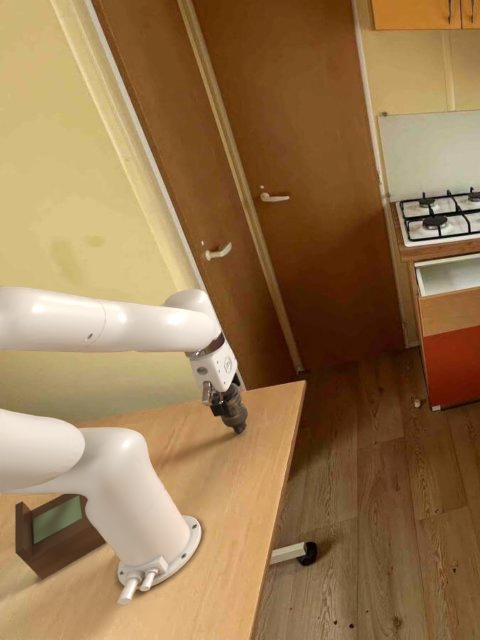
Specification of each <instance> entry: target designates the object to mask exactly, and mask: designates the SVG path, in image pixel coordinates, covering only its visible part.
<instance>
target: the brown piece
mask: <svg viewBox="0 0 480 640" xmlns="http://www.w3.org/2000/svg"><path fill="white" fill-rule="evenodd" d="M87 501H88V499H87V498H86V497H85V496H83V495H80V494H60V495H59V496H57V497H55V498H53V499H51V500H49V501H47V502H45V503H43V504H41V505H39V506H37V507H35V508H33V509H32V510H31V508H29V507H28V505H27V504H26V503H25V502H24V501H23V500H21V501H20V502H18V503H16V504H15V505H14V511H15V512H14V513H15V514H14V524H15V526H14V527H15V531H14V533H15V535H14V536H15V537H14V541H15V543H14V547H15V548H14V549H15V552H14V553H15V554H16V555H17V556H18V557H19V558H20V559H21V560H22V561H23V562H24V563H25V564H26V565H27V566H28V567H29V568H30V569H31V570H32V572H34V574H36V576H37V577H39V578H40V579H41V580H42V581H43V580H45V579H47V578H48V577H50V576H52V575H53V574H55V573H57V572H59V571H60V570H62V569H64V568H65V567H67V566H69V565H70V564H72V563H74V562H75V561H77V560H79V559H80V558H82V557H84V556H86V555H87V554H89V553H91V552H93V551H94V550H96V549H98V548H99V547H101V546H103V545H105V544H107V542H106V541H105V540H104V538H103V537H102V536H101V534H100V533H99V532H98V531H97V529H96V528H95V527H94V526H93V525H92V524H91V522H90V521H89V519H88V518H87V516H86V512H85V507H86V503H87Z"/></svg>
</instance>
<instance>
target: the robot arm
mask: <svg viewBox="0 0 480 640" xmlns="http://www.w3.org/2000/svg"><path fill="white" fill-rule="evenodd" d="M0 351H15V352H16V351H17V352H18V351H21V352H51V353H53V352H54V353H55V352H58V353H80V354H81V353H83V354H85V353H86V354H87V353H88V354H89V353H90V354H94V353H98V354H99V353H101V354H106V353H107V354H108V353H110V354H111V353H125V352H136V353H144V354H145V353H184V356H185V357H186V358H187V359H189V363H190V367H191V368H190V369H191V370H192V373H193V378H194V379H195V382H196V384H197V387H198V389H199V391H200V393H201V394H202V396H201V404H202V405H205V406H206V407H209V409H210V410H211V413H212V415H213V417H221V416H222V415H227V414H230V409H229V407H228V404H227V402H226V400H223V392H225V391H227V389H228V388H229V386H230V384H231V383H234V384H236V385H237V386H238V388H239V387H241V385H242V383H241V380H240V378H239V375H238V373H237V369H238V361H237V358H236V356H235V354H234V352H233V350H232V348H231V346H230V344H229V342H228V341H227V339H226V338H225V336H224V333H223V331H222V328H221V326H220V323H219V321H218V317H217V316H216V313H215V311H214V308H213V305H212V303H211V300H210V298H209V295H208V294H207V293H206V292H205V291H203V290H202V289H197V288H189V289H183V290H180V291H178V292H175V293H173V294H171V295H170V296H169V297H168V298H166V300H165V301H164V302H163V303H162V304H159V305H151V304H144V303H143V304H142V303H136V302H131V301H130V302H129V301H122V300H121V301H120V300H113V299H112V300H110V299H104V298H96V297H91V296H84V295H77V294H71V293H66V292H62V291H61V292H60V291H56V290H55V291H54V290H49V289H44V288H43V289H42V288H35V287H28V286H13V285H11V286H10V285H8V286H7V285H4V286H3V285H2V286H1V285H0ZM212 388H215V389H216V390H213V391H212ZM214 393H218V399H213V398H212V395H213V394H214ZM54 494H55V495H58V494H59V495H63V494H80V495H83V496H85V497H86V498H87V499H88V501H87V503H86V507H85V512H86V516H87V518H88V519H89V521H90V522H91V524H92V525H93V526H94V527H95V528H96V529H97V531H98V532H99V533H100V534H101V536H102V537H103V538H104V540H105V541H106V544H107V545H108V546H109V547H110V549H111V550H112V551H113V552H114V553H115V555H116V556H117V557H118V559H119V562H118V567H117V574H116V575H117V578H118V581H119V582H120V583H121V585H123V586H124V587H123V588H122V590H121V592H120V595H119V596H118V599H117V600H116V603H117V605H119V606H126V605H129V604H131V602H132V601H133V599H134V597H135V595H136V592H137V590H139V591H141V592H149V590H150V589H151V588H152V587H154V586H156V585H158V584H160V583H162V582H164V581H165V580H167V579H169V578H170V577H171V576H173V575H174V574H176V573H177V572H178V571H179V570H180V569H182V567H183V566H185V565H186V564H187V563H188V561H189V560H190V559H191V558H192V556H193V555H194V553H195V552H196V550H197V549H198V546H199V544H200V541H201V539H202V527H201V525H200V522H199V521H198V520H197V519H196V518H195V517H193V516H191V515H187V514H182V513H181V512H180V511H179V509H178V508H177V506H176V504H175V502H174V501H173V499H172V497H171V495H170V494H169V492H168V491H167V489H166V487H165V485H164V484H163V482H162V481H161V479H160V478H159V476H158V474H157V472H156V471H155V469H154V467H153V465H152V462H151V458H150V454H149V449H148V444H147V441H146V439H145V437H144V436H143V434H141V432H138V431H136V430H134V429H131V428H127V427H117V426H100V427H97V426H96V427H92V426H91V427H76V426H75V425H73V424H72V423H70V422H68V421H65V420H63V419H60V418H55V417H50V416H42V415H40V416H39V415H35V414H29V413H28V414H27V413H23V412H18V411H12V410H7V409H3V408H1V407H0V495H54Z"/></svg>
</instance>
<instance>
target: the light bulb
mask: <svg viewBox="0 0 480 640" xmlns="http://www.w3.org/2000/svg"><path fill="white" fill-rule="evenodd" d="M213 390H216V389H215V388H212V391H213ZM212 398H213V399H218V393H214V394H212ZM223 400H226V402H227V404H228V407H229V409H230V414H227V415H222V416H220V419H221V421H222V423H223V424H224V425H225V426H226V427H228V428H232V429H233V433H234V434H242V433H243V432H244V431H245V430H246V428H247V423H246V420H247V419H248V415H249V414H248V413H249V412H248V410H247V407H246V405H245V404H244V403H242V401H243V396H242V395H241V390H240V388H239V387H238V386H237V385H236V384H234V383H231V384H230V386H229V388H228V389H227V391H225V392H223Z"/></svg>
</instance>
